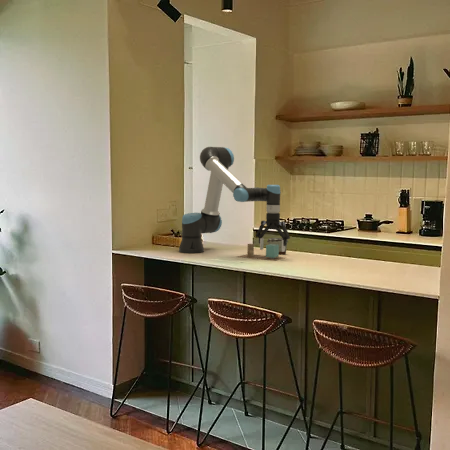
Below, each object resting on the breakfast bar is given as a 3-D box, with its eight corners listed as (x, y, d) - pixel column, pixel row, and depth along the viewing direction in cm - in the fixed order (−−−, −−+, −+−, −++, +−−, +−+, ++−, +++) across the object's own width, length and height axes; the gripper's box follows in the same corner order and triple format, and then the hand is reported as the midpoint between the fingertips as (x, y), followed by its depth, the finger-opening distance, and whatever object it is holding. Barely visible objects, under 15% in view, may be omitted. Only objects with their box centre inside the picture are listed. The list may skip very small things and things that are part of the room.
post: (247, 256, 320) (247, 244, 320) (249, 255, 323) (249, 243, 322) (251, 256, 319) (251, 244, 318) (253, 256, 321) (253, 244, 320)
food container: (287, 254, 334) (288, 238, 333) (288, 256, 328) (288, 239, 327) (267, 254, 335) (267, 237, 334) (266, 255, 329) (267, 238, 328)
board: (235, 258, 318) (235, 256, 318) (248, 255, 330) (248, 253, 330) (275, 262, 304) (275, 260, 304) (286, 259, 316) (286, 257, 316)
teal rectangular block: (265, 256, 312) (266, 245, 312) (270, 255, 317) (270, 244, 316) (274, 257, 310) (274, 245, 309) (278, 256, 314) (278, 244, 313)
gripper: (250, 211, 314) (249, 249, 316) (290, 214, 301) (289, 253, 303) (256, 211, 321) (256, 248, 323) (296, 213, 307) (295, 251, 309)
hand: (272, 250), depth 313 cm, fingers open, 13 cm apart
